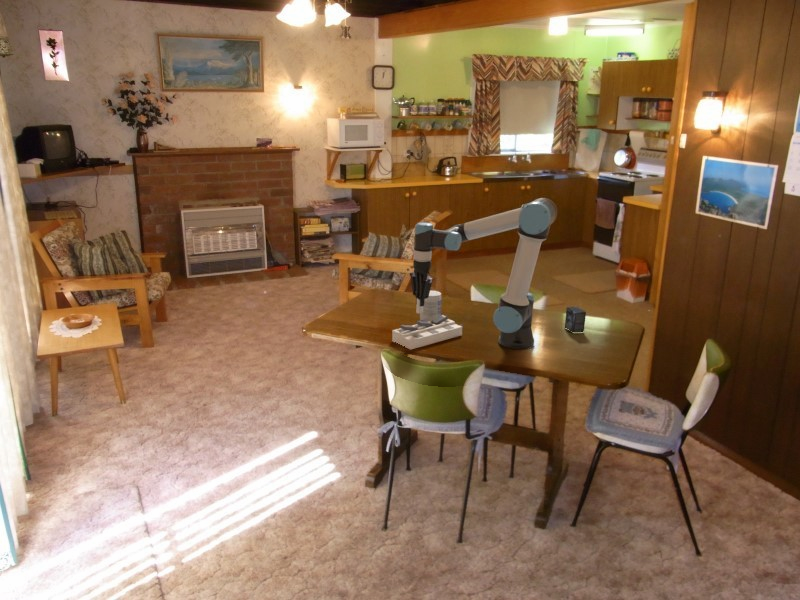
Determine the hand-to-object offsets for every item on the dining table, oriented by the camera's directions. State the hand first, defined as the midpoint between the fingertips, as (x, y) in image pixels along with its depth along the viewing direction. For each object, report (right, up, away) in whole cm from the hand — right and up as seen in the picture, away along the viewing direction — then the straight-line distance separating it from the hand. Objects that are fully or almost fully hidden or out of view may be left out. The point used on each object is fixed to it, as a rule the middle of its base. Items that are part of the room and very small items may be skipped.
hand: (419, 312), depth 298 cm
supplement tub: (+5, -6, +22) cm, 23 cm away
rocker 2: (+2, -5, +3) cm, 6 cm away
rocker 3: (+9, -3, +9) cm, 13 cm away
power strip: (+6, -11, +5) cm, 13 cm away
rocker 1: (-5, -6, -2) cm, 8 cm away
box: (+71, -9, +17) cm, 74 cm away
